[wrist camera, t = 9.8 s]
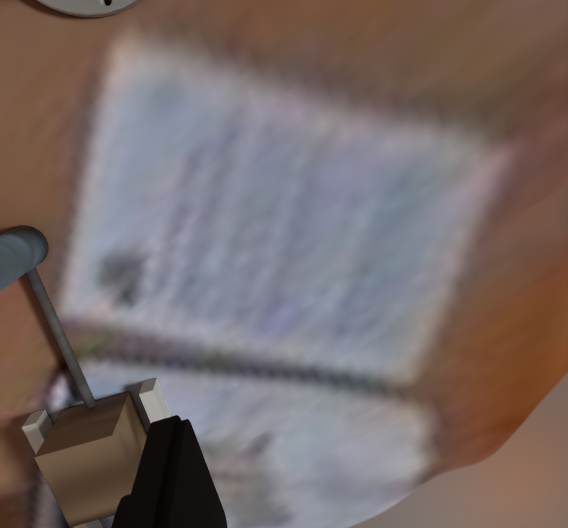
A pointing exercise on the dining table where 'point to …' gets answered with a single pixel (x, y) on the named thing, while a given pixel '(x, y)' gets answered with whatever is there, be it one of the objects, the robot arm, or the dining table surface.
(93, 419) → the knobbed lever joystick
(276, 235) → the dining table surface
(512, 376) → the dining table surface
